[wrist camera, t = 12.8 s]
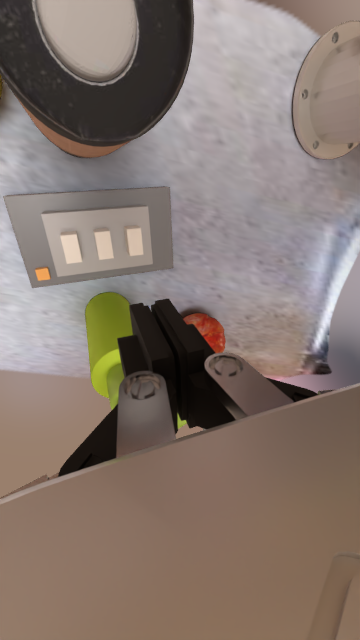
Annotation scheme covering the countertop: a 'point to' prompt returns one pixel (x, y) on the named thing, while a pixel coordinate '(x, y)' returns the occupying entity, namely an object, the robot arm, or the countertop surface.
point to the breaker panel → (40, 243)
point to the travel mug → (95, 66)
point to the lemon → (0, 86)
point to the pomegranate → (208, 330)
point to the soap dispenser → (108, 343)
